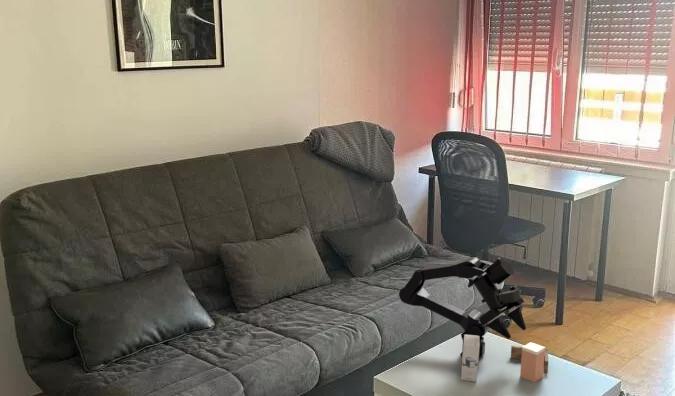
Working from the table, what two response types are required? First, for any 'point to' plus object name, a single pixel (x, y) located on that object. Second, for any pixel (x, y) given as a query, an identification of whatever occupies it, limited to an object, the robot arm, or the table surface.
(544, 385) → the table surface
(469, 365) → the ink box
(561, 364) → the table surface
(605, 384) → the table surface
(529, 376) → the pink tall block
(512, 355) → the walnut corner walls
